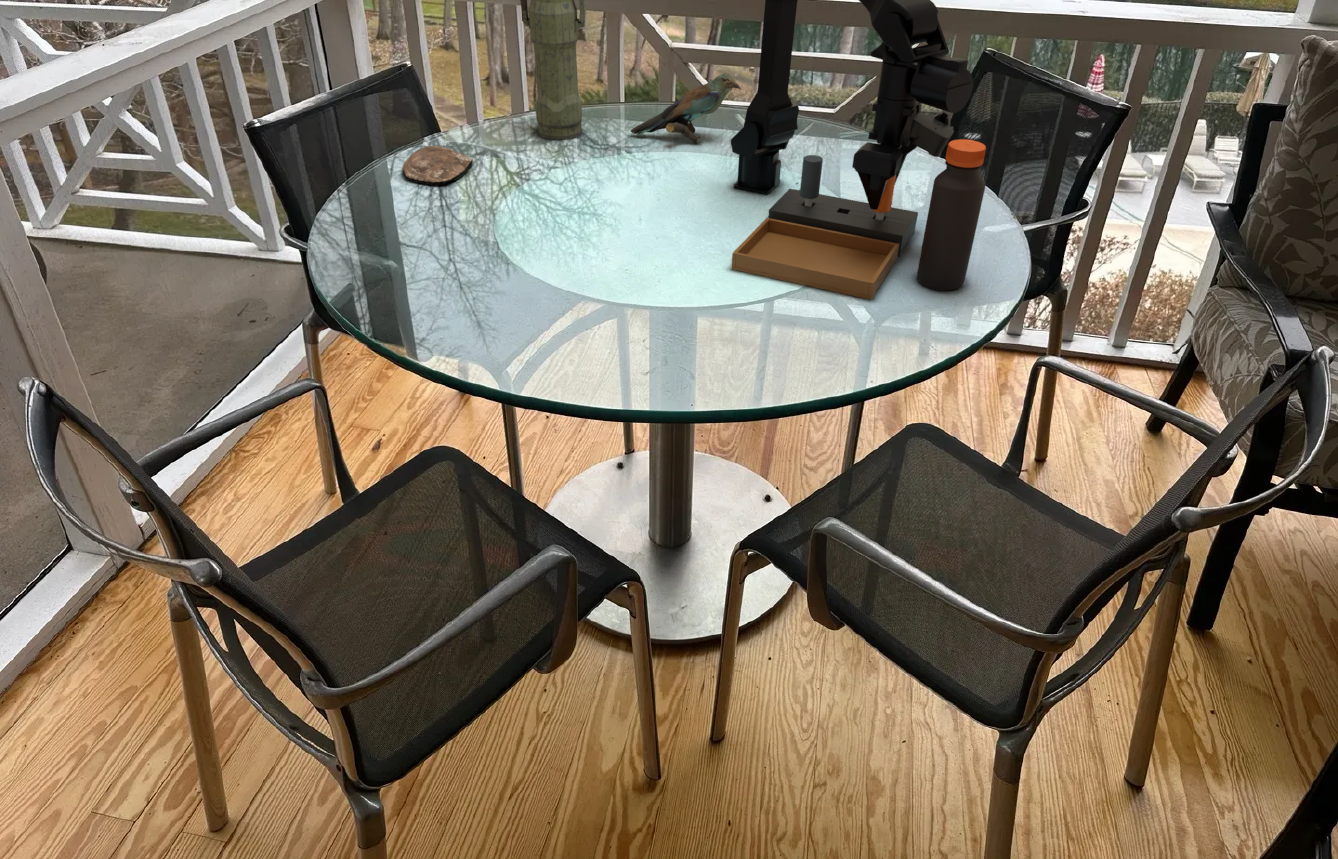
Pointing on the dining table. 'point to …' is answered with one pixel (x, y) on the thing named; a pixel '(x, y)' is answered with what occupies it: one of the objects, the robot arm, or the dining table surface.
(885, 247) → the tray
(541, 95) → the thermos
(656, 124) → the bird figurine
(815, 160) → the screwdriver
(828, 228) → the rack
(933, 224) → the bottle
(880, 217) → the orange-handled tool
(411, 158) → the shell
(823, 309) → the dining table surface
